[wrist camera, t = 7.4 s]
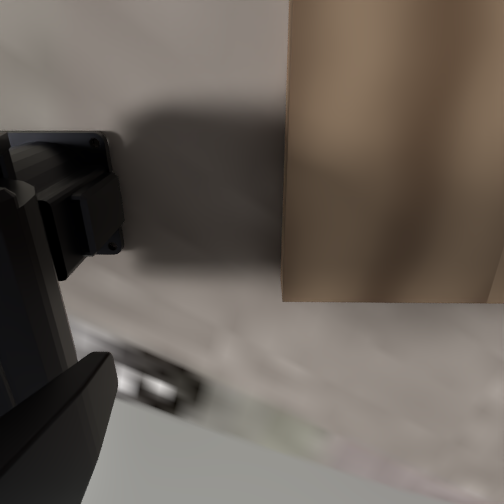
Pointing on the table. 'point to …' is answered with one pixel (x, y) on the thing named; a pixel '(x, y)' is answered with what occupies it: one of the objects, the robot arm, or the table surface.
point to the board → (394, 152)
